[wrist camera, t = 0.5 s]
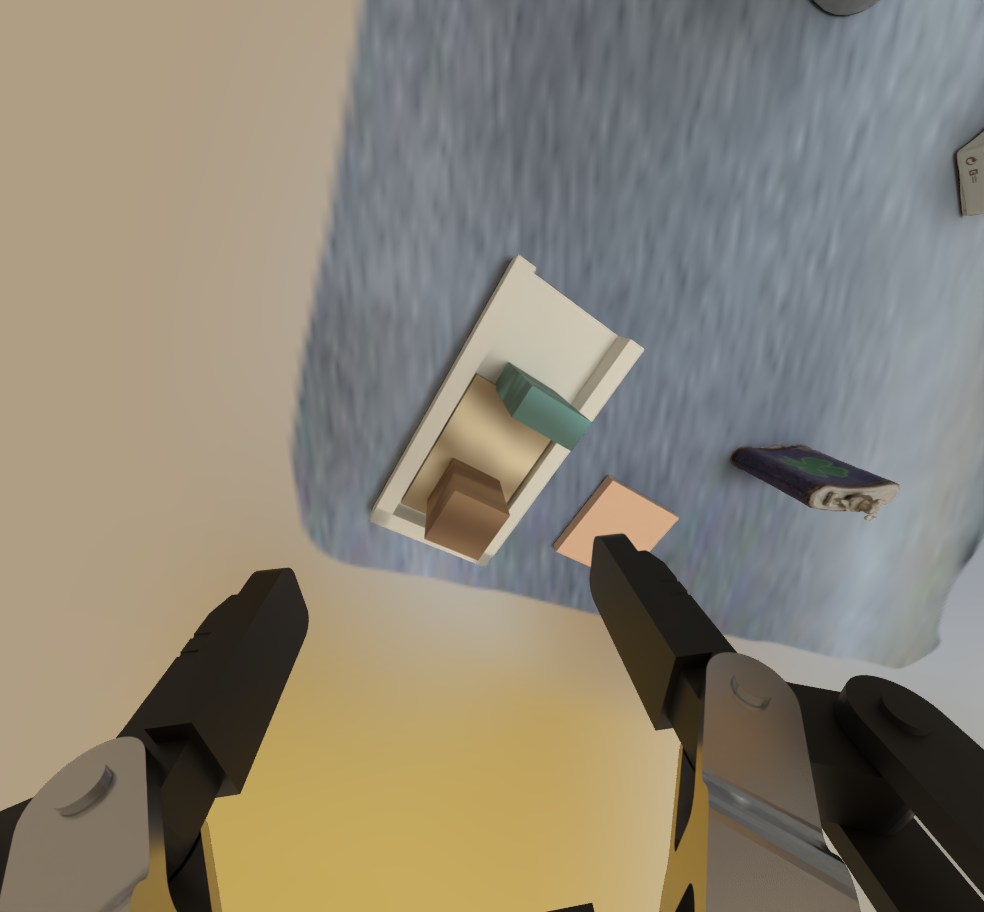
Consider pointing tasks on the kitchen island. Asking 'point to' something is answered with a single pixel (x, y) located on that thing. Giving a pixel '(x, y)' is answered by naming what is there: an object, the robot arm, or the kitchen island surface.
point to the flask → (817, 478)
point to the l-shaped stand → (499, 432)
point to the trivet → (615, 521)
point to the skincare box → (972, 176)
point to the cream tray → (535, 350)
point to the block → (465, 510)
